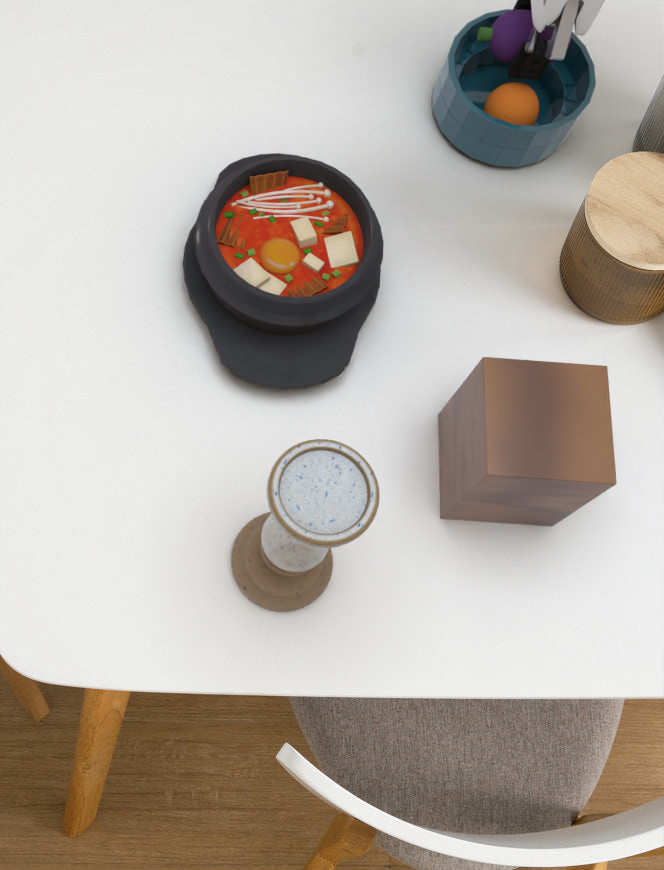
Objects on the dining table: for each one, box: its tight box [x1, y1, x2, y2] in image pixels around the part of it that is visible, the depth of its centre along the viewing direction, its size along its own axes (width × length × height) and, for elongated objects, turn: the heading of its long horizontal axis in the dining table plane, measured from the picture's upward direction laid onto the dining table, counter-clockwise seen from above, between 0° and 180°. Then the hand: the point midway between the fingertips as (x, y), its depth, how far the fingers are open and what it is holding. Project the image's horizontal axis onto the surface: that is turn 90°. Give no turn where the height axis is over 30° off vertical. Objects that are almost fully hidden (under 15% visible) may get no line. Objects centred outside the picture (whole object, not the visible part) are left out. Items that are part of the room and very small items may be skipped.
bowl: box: [431, 8, 597, 168], centre depth 96 cm, size 14×14×6 cm
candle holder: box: [230, 438, 381, 612], centre depth 74 cm, size 9×9×20 cm
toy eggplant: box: [477, 9, 572, 64], centre depth 92 cm, size 9×5×5 cm, turn 86°
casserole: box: [182, 152, 384, 390], centre depth 88 cm, size 25×19×8 cm
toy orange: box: [483, 82, 539, 126], centre depth 95 cm, size 5×5×5 cm
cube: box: [437, 356, 618, 527], centre depth 81 cm, size 10×10×12 cm
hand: (522, 52), depth 94 cm, fingers closed on toy eggplant, 4 cm apart
